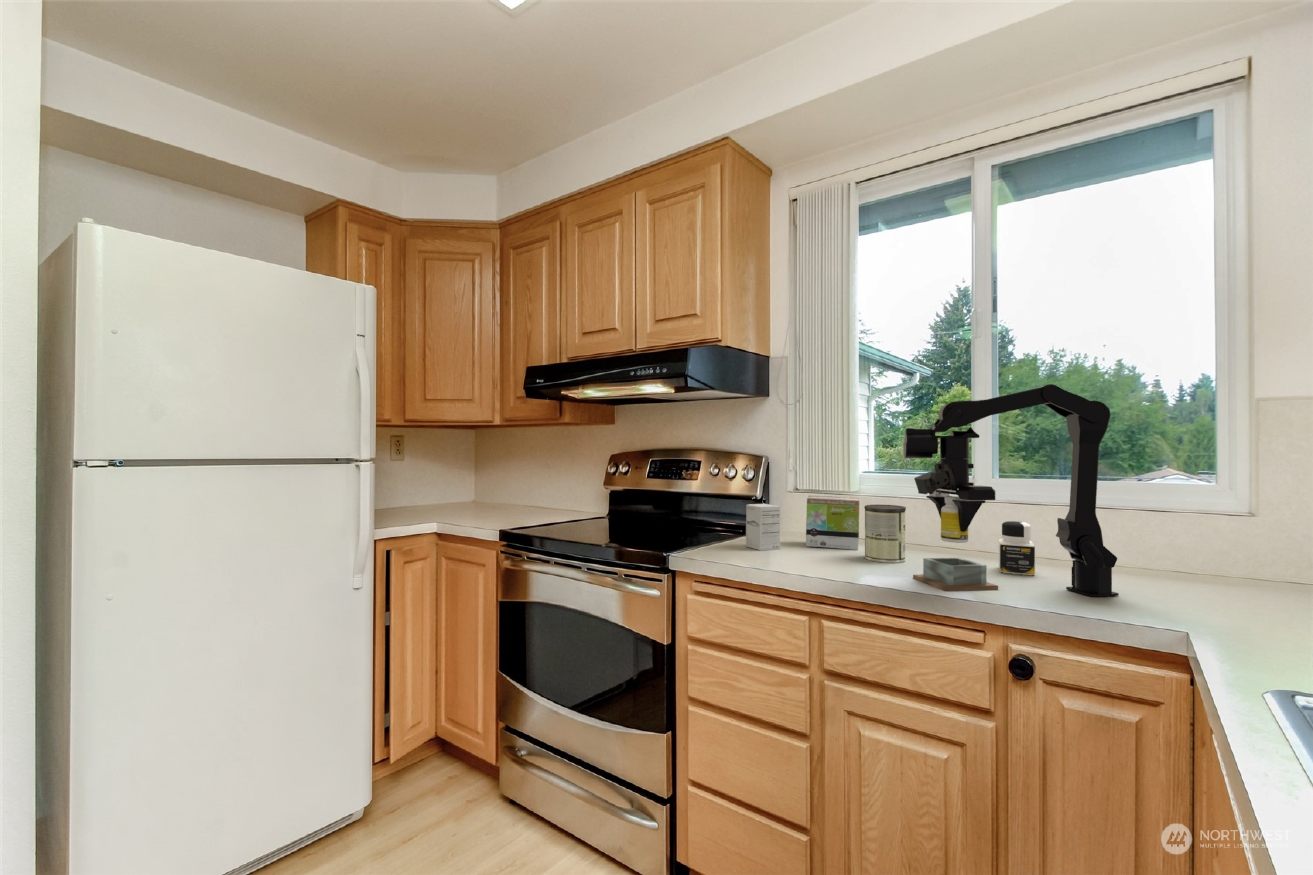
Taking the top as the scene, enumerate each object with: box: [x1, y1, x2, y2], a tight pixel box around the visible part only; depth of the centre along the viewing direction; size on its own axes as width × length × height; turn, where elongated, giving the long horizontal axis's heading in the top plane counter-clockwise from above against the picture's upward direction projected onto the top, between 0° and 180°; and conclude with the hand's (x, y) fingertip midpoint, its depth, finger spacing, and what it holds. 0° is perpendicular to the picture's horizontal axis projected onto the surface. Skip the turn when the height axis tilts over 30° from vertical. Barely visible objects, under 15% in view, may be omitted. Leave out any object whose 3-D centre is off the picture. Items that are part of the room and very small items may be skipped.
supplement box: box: [745, 503, 781, 551], centre depth 174 cm, size 7×7×13 cm
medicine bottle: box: [998, 520, 1036, 576], centre depth 144 cm, size 7×7×12 cm
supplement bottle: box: [940, 495, 969, 544], centre depth 131 cm, size 5×5×10 cm
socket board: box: [912, 557, 999, 592], centre depth 131 cm, size 12×12×5 cm
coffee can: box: [863, 504, 907, 564], centre depth 158 cm, size 10×10×14 cm
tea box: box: [805, 495, 860, 551], centre depth 178 cm, size 15×10×15 cm, turn 73°
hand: (954, 529), depth 131 cm, fingers closed on supplement bottle, 5 cm apart
